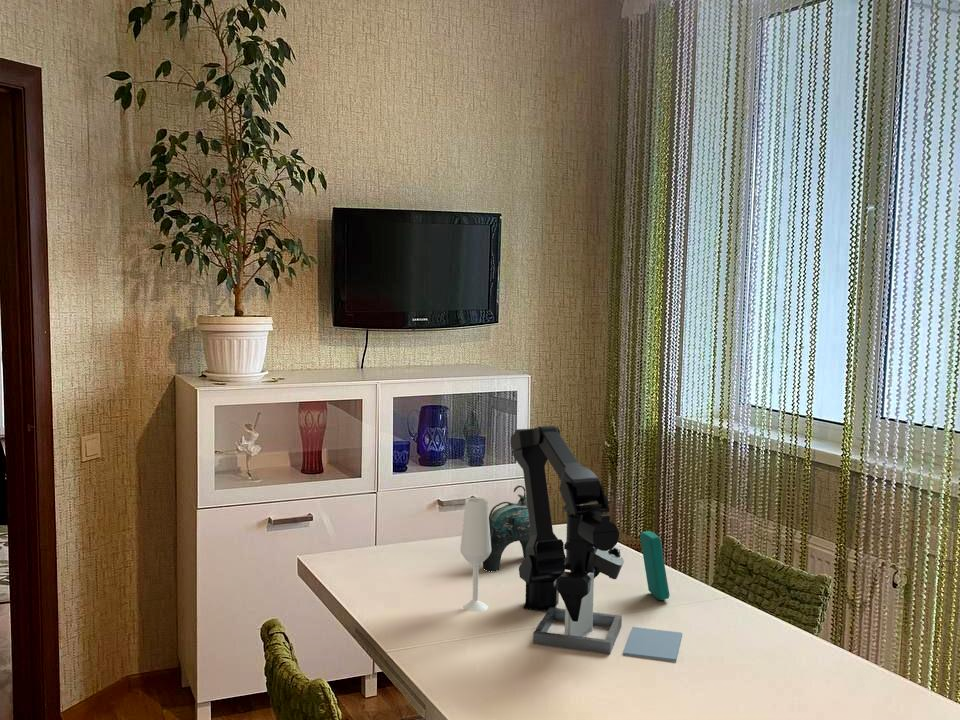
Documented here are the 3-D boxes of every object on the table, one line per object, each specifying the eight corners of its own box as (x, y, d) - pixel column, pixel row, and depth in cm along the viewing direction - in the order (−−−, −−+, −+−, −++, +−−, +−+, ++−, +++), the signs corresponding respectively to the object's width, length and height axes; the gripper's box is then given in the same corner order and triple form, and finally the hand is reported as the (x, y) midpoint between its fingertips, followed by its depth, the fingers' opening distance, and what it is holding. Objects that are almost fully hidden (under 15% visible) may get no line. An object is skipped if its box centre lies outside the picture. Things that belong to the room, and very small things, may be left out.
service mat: (623, 655, 181) (623, 652, 181) (632, 629, 195) (632, 626, 195) (676, 662, 179) (676, 659, 178) (682, 635, 192) (682, 632, 192)
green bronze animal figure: (532, 555, 246) (533, 479, 244) (550, 560, 241) (552, 483, 239) (476, 570, 232) (477, 490, 231) (494, 576, 228) (495, 495, 226)
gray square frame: (533, 645, 186) (533, 633, 186) (549, 618, 200) (549, 607, 200) (610, 655, 181) (610, 642, 181) (621, 627, 196) (621, 615, 196)
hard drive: (593, 631, 193) (595, 572, 192) (569, 643, 187) (571, 582, 186) (586, 629, 194) (588, 570, 193) (563, 640, 188) (564, 580, 187)
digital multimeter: (660, 603, 210) (672, 600, 211) (649, 538, 209) (662, 535, 210) (648, 594, 217) (660, 591, 218) (638, 531, 216) (650, 528, 217)
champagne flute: (454, 611, 204) (456, 502, 202) (466, 601, 210) (468, 495, 208) (483, 615, 202) (485, 505, 199) (495, 605, 208) (496, 498, 206)
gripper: (614, 553, 178) (612, 634, 179) (627, 529, 196) (625, 602, 197) (556, 548, 181) (554, 627, 182) (574, 524, 199) (573, 597, 200)
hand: (579, 613), depth 190 cm, fingers open, 9 cm apart
